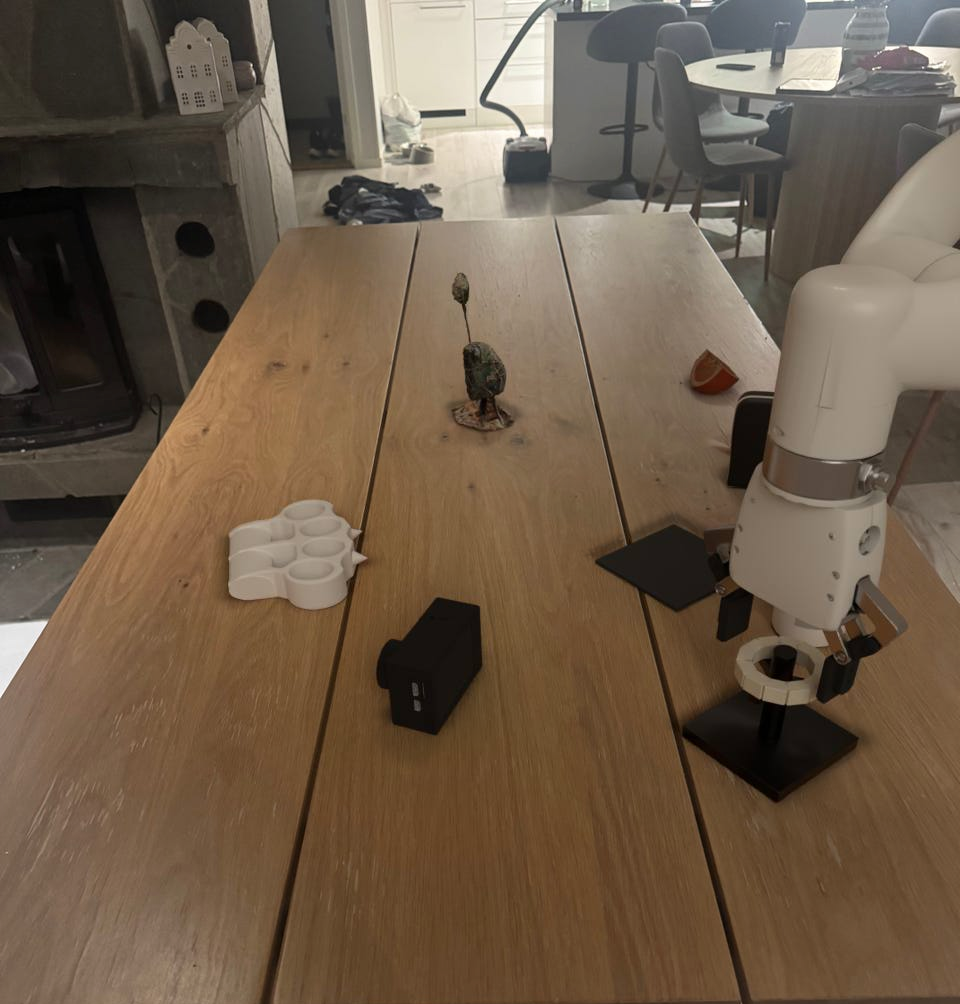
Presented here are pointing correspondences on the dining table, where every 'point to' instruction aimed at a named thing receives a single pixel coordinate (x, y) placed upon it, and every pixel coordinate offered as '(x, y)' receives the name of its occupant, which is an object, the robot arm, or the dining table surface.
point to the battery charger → (748, 436)
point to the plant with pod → (480, 376)
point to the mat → (665, 566)
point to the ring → (774, 688)
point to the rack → (770, 735)
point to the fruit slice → (712, 374)
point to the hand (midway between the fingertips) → (779, 663)
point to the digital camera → (432, 665)
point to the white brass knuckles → (294, 556)
